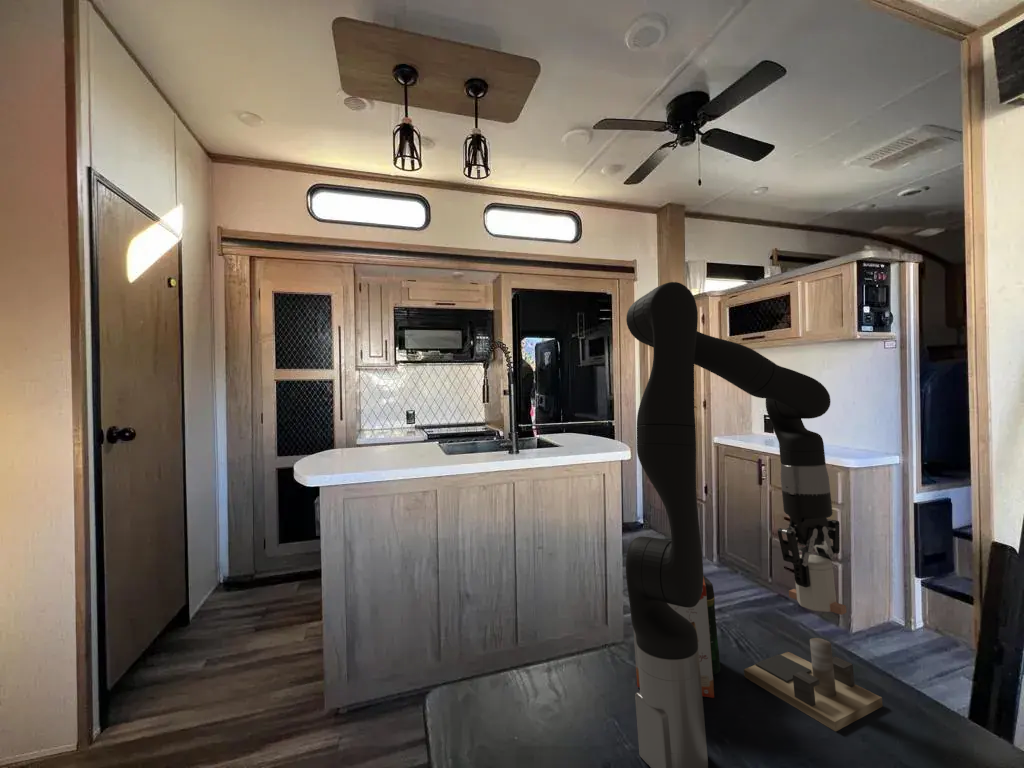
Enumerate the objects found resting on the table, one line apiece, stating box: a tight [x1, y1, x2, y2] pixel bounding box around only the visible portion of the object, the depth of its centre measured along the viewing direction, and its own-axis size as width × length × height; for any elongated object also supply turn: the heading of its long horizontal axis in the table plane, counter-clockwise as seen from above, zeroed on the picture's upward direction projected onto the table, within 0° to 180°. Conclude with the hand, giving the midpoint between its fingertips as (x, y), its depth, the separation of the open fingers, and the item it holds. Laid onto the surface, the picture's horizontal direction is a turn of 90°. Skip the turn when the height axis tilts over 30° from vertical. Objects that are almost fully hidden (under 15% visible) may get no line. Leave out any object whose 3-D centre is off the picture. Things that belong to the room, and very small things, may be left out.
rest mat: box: [754, 653, 812, 683], centre depth 88 cm, size 7×7×1 cm
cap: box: [788, 554, 847, 616], centre depth 81 cm, size 9×6×8 cm, turn 26°
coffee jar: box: [703, 574, 721, 676], centre depth 94 cm, size 10×8×19 cm
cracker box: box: [632, 575, 715, 699], centre depth 88 cm, size 14×6×21 cm, turn 71°
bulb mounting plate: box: [743, 637, 884, 732], centre depth 83 cm, size 13×17×10 cm
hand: (814, 581), depth 81 cm, fingers closed on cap, 5 cm apart
